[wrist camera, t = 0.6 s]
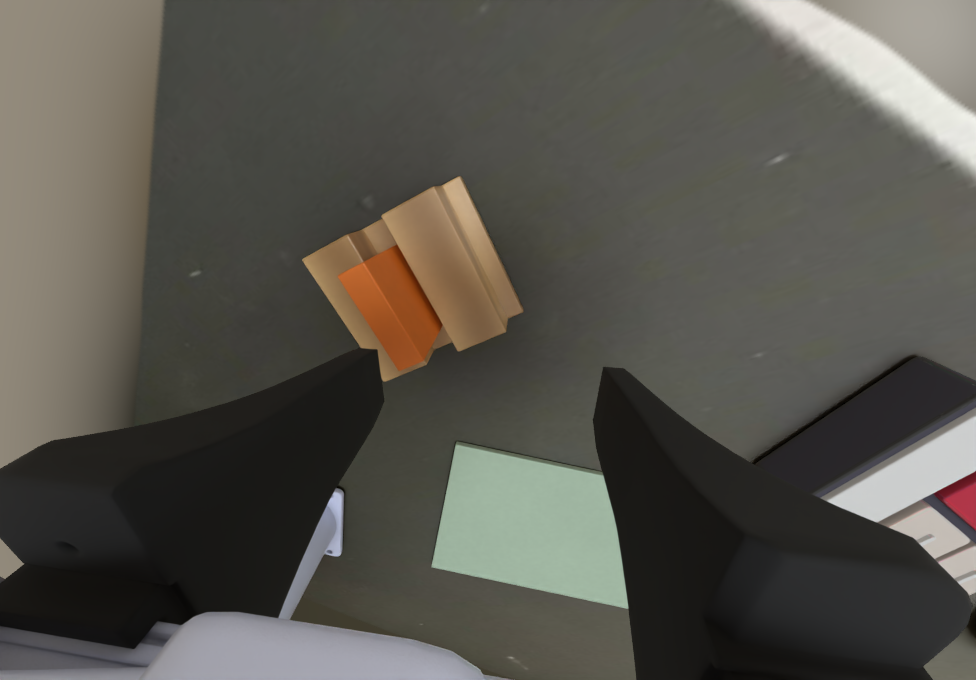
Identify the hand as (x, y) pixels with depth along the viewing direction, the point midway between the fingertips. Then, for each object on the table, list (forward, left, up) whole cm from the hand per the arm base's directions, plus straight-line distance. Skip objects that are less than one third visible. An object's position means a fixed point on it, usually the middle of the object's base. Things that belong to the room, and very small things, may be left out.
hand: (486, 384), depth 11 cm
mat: (+9, -19, -10) cm, 23 cm away
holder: (-5, -1, -10) cm, 11 cm away
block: (-5, -1, -10) cm, 11 cm away
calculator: (+28, -7, -11) cm, 31 cm away
